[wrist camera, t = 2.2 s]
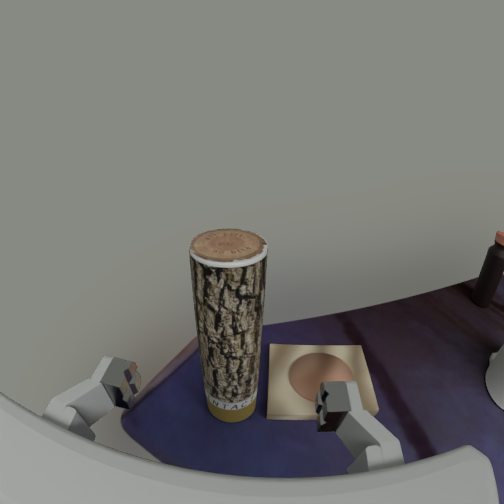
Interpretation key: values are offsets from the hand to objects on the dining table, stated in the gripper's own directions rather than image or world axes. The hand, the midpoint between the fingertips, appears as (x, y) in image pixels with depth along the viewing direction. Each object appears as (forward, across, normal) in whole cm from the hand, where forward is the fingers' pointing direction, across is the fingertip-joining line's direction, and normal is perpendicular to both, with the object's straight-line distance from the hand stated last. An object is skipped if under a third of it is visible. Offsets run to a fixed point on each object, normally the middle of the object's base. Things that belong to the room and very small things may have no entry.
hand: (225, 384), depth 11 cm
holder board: (+20, -11, +25) cm, 34 cm away
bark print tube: (+15, +2, +25) cm, 29 cm away
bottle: (+42, -62, +24) cm, 79 cm away
